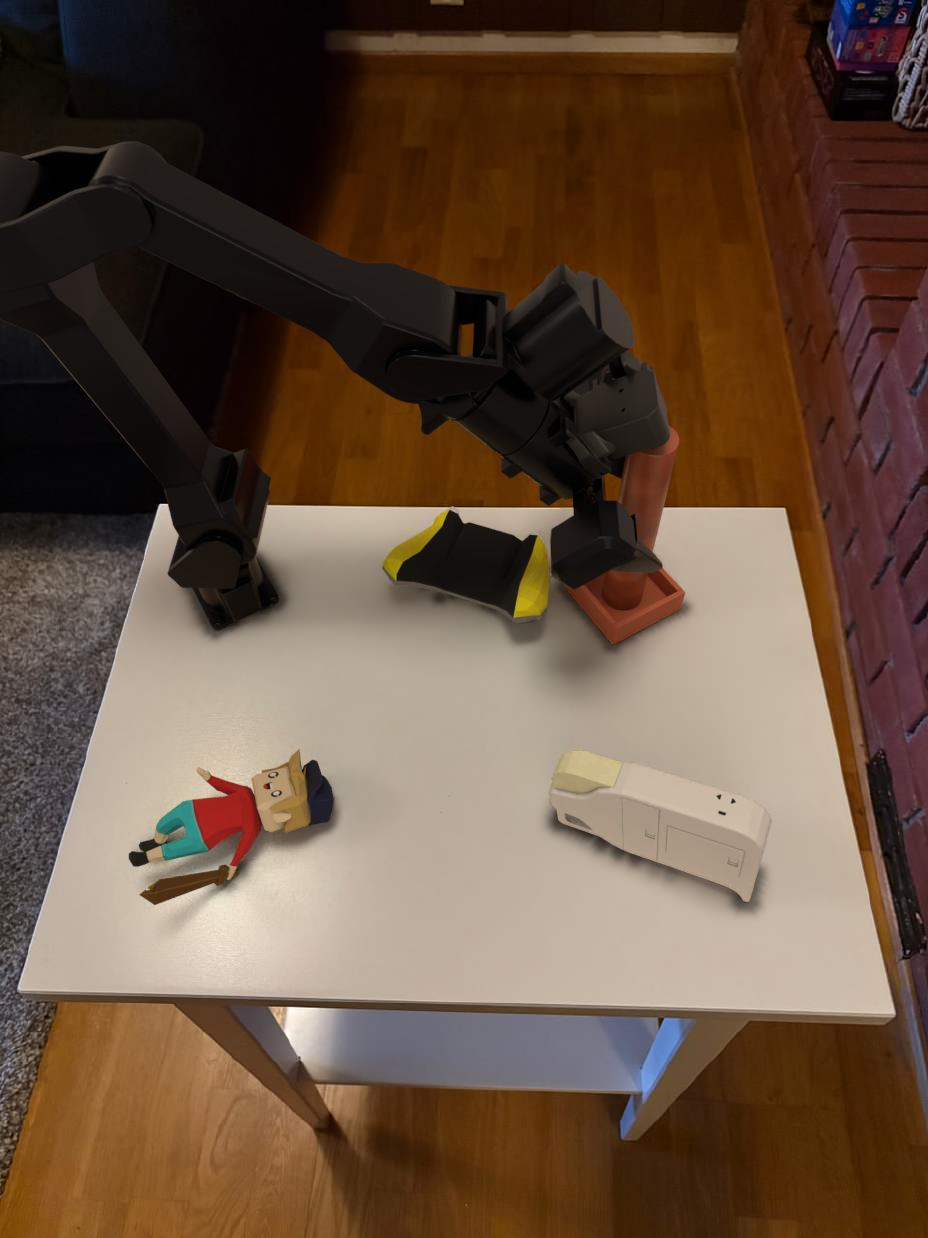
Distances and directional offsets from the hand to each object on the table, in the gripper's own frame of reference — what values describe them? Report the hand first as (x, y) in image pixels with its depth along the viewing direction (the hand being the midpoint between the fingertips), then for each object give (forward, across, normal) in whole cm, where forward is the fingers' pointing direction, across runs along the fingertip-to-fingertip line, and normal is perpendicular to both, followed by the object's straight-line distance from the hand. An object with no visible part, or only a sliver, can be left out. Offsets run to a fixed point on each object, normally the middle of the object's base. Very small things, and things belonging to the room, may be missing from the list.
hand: (652, 524), depth 70 cm
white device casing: (+7, -23, +8) cm, 25 cm away
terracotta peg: (+6, 0, +8) cm, 10 cm away
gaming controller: (-3, +1, +18) cm, 18 cm away
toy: (-15, -24, +30) cm, 41 cm away
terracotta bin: (+6, 0, +8) cm, 10 cm away
